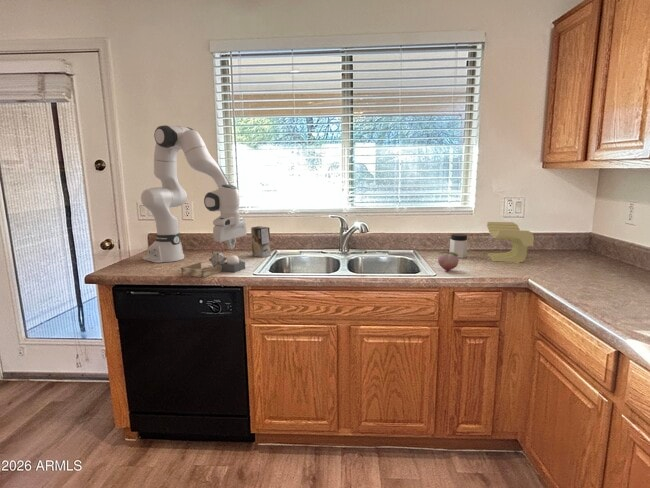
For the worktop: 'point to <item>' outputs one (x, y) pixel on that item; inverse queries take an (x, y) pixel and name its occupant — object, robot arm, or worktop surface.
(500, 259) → the olive c-shaped block
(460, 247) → the jar
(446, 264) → the decorative fruit
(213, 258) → the grey spiky ball
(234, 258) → the cream ball
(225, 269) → the base
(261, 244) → the coffee box
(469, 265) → the worktop surface
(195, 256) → the worktop surface
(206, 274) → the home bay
